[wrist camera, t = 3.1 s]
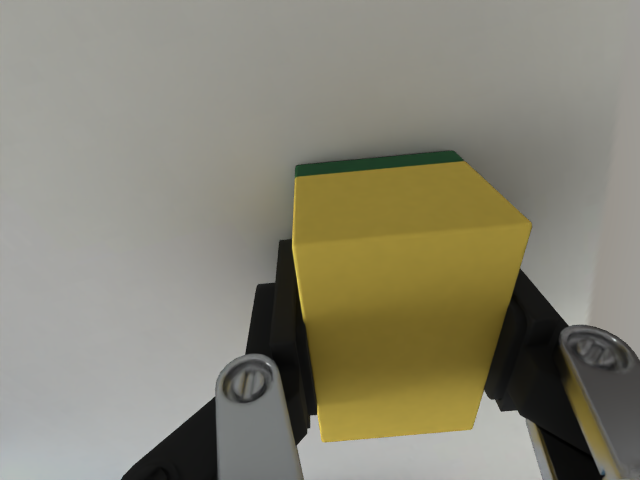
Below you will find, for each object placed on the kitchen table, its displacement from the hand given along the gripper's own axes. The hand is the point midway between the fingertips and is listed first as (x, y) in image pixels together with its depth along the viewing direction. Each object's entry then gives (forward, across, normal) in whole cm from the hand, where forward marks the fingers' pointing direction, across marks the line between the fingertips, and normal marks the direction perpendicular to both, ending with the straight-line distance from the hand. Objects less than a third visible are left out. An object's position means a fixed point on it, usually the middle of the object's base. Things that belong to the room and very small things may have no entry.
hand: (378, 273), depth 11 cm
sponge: (+1, 0, 0) cm, 1 cm away
